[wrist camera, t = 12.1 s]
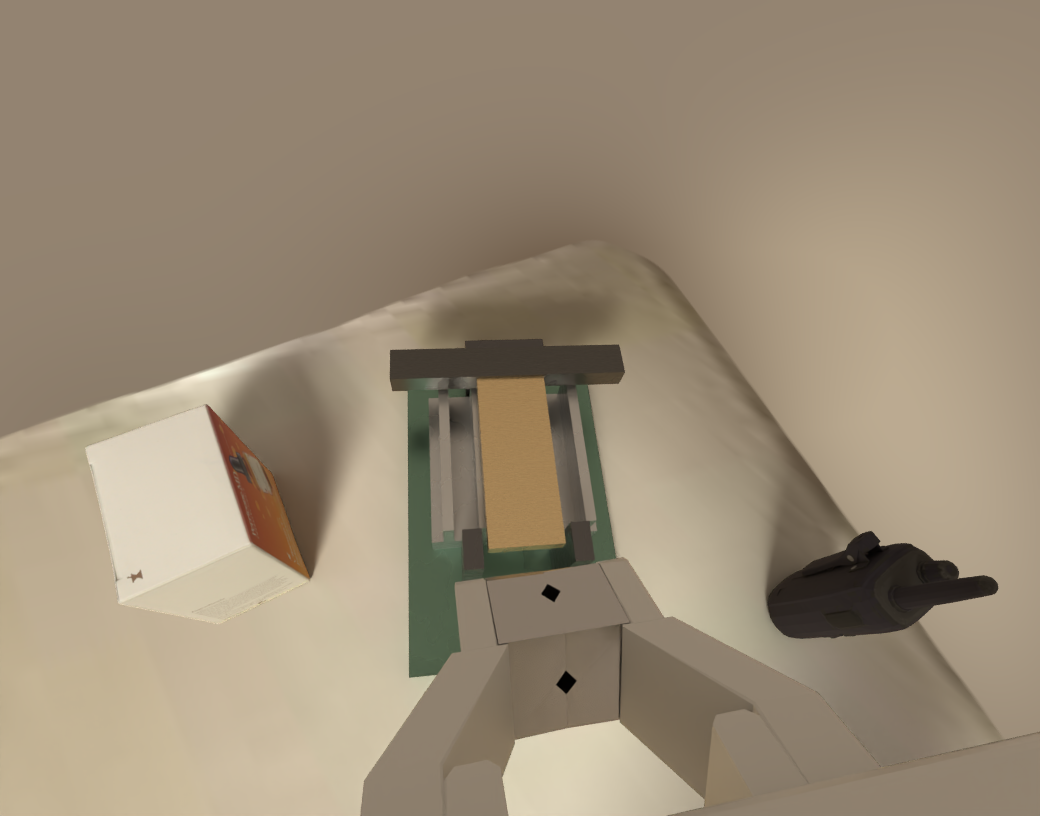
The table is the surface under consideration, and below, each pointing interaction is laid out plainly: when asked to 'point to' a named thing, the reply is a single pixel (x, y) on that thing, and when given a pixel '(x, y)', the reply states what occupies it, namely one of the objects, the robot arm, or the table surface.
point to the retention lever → (512, 425)
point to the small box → (193, 519)
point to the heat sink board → (461, 512)
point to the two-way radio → (868, 591)
